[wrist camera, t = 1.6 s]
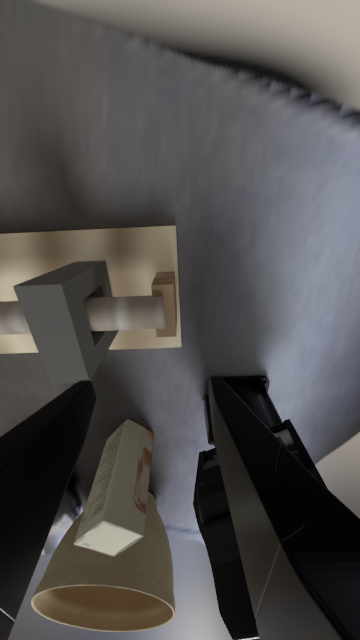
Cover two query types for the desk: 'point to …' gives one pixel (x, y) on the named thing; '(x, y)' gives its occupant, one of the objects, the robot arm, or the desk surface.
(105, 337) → the collar
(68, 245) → the roll holder
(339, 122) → the desk surface
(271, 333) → the desk surface
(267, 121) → the desk surface
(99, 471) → the skincare box
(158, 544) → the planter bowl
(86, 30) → the desk surface
